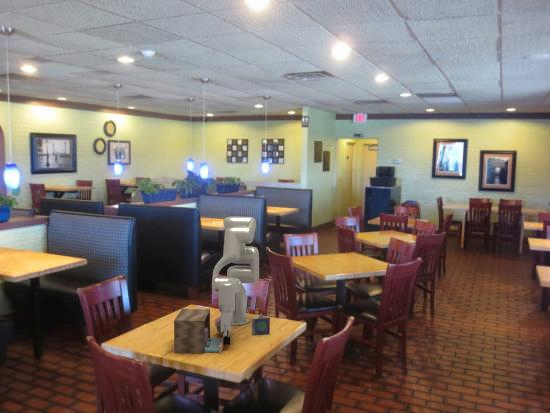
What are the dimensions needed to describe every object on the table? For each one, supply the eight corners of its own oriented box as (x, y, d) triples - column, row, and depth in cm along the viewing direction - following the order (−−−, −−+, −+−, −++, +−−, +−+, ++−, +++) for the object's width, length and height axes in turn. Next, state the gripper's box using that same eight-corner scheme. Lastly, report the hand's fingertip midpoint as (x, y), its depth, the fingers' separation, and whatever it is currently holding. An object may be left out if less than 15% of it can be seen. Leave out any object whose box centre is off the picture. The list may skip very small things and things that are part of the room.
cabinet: (174, 352, 218) (173, 320, 217) (182, 339, 235) (182, 308, 234) (204, 353, 218) (204, 320, 217) (210, 339, 235) (210, 309, 234)
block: (197, 341, 229) (197, 327, 228) (208, 341, 229) (207, 327, 228) (195, 345, 224) (195, 331, 223) (206, 345, 224) (206, 331, 223)
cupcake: (235, 333, 244) (235, 314, 243) (227, 339, 236) (227, 319, 235) (219, 331, 247) (219, 312, 246) (212, 336, 239) (212, 317, 238)
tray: (182, 352, 218) (182, 345, 218) (190, 338, 235) (190, 332, 235) (221, 353, 218) (221, 346, 218) (225, 339, 235) (225, 333, 235)
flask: (252, 335, 241) (252, 315, 240) (251, 333, 243) (251, 313, 242) (270, 334, 243) (270, 314, 242) (269, 332, 245) (269, 312, 244)
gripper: (221, 302, 232) (221, 338, 234) (216, 312, 217) (217, 350, 219) (236, 302, 232) (236, 338, 234) (233, 312, 217) (233, 350, 219)
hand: (226, 344), depth 226 cm, fingers closed
